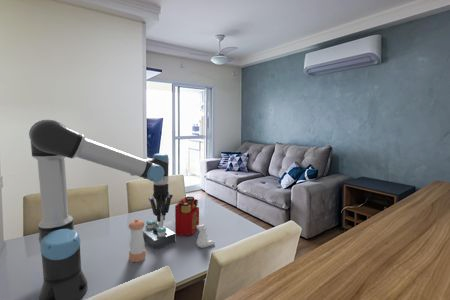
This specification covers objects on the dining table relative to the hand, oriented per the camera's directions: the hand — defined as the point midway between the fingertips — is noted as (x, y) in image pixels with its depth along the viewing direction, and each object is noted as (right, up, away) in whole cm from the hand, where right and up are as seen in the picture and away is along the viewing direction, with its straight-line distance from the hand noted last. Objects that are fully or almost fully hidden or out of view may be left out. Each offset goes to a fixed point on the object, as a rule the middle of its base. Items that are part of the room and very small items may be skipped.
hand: (160, 226), depth 128 cm
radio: (+12, -8, +17) cm, 22 cm away
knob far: (-8, -7, +10) cm, 15 cm away
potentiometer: (-4, -3, +5) cm, 7 cm away
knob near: (0, -8, +1) cm, 8 cm away
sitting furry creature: (+23, -10, 0) cm, 25 cm away
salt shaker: (-8, -11, -12) cm, 18 cm away
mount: (-4, -8, +6) cm, 11 cm away
